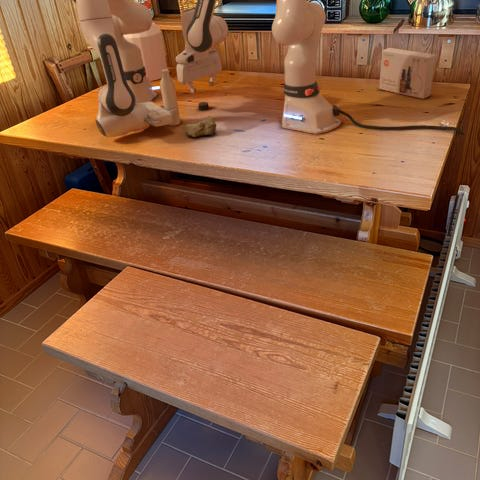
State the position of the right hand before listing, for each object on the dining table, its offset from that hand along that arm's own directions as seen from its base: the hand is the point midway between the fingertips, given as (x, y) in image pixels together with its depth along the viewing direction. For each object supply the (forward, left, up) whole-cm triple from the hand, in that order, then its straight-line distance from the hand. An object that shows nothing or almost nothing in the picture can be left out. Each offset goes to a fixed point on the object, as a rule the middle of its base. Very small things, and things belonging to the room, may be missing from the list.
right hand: (202, 89), depth 188 cm
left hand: (-2, +17, -3) cm, 17 cm away
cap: (+1, 0, -6) cm, 6 cm away
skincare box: (-55, -60, -8) cm, 82 cm away
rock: (-20, +18, -8) cm, 28 cm away
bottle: (-2, +18, -8) cm, 20 cm away
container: (+67, -15, -8) cm, 69 cm away
